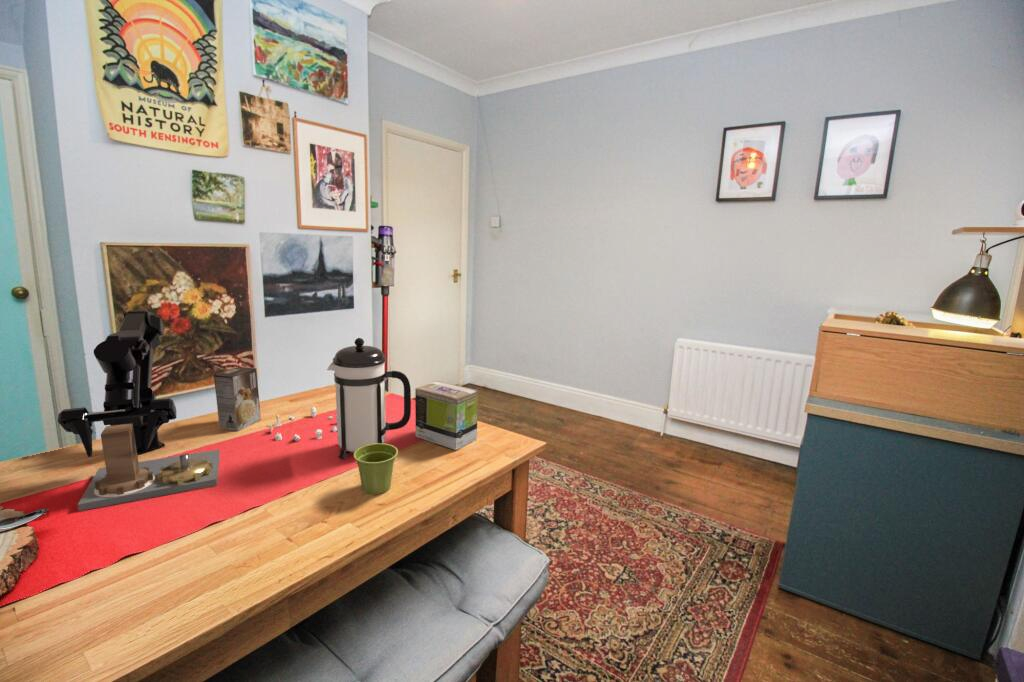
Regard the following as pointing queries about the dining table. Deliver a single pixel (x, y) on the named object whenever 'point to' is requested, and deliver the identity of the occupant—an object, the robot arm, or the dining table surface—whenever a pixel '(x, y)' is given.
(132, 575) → the dining table surface
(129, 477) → the walnut gear
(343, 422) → the coffee press
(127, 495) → the gear board
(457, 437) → the tea box
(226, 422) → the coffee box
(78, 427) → the robot arm
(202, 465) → the brass gear
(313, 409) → the game piece set
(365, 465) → the plant pot
